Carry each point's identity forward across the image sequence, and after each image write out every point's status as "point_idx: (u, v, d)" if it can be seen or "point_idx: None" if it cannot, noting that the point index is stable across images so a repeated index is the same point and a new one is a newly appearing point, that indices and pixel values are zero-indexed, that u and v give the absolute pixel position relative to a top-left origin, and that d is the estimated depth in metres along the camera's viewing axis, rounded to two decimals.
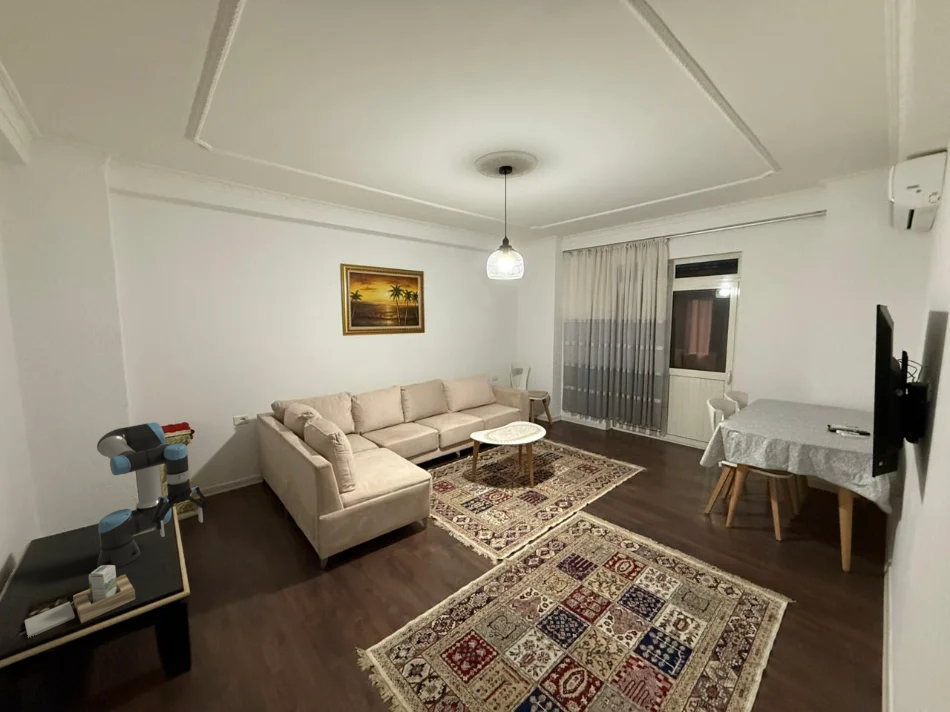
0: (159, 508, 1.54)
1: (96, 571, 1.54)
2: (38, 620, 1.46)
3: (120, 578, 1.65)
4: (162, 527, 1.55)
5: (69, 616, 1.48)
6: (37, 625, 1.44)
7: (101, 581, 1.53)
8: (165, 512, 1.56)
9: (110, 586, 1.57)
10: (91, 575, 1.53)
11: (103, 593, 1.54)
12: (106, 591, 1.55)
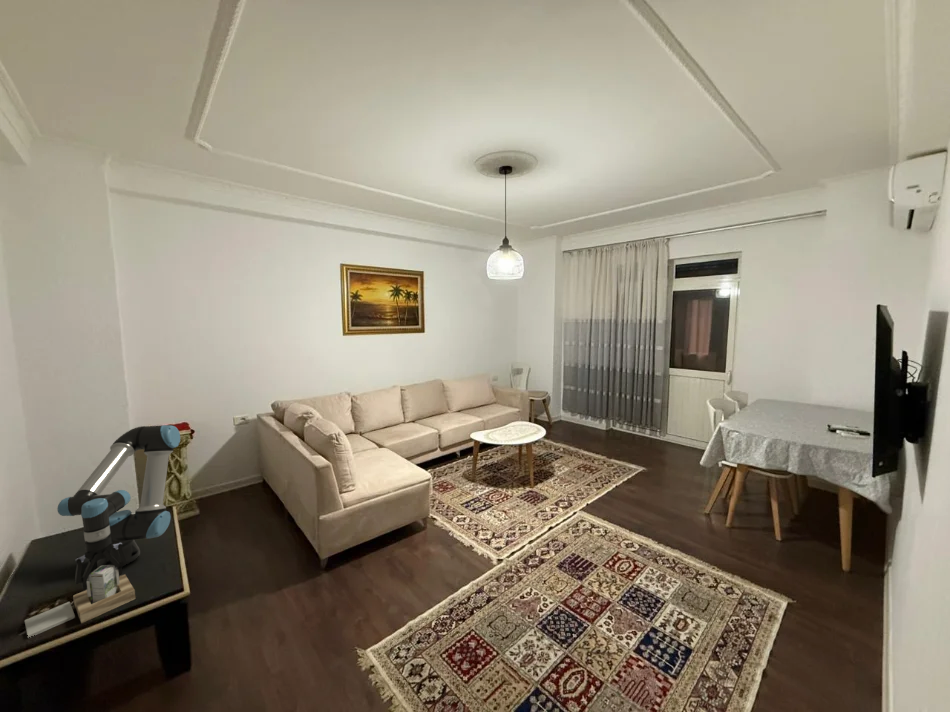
0: (79, 569, 1.49)
1: (96, 571, 1.54)
2: (38, 620, 1.46)
3: (120, 578, 1.65)
4: (88, 587, 1.52)
5: (69, 616, 1.48)
6: (37, 625, 1.44)
7: (100, 581, 1.53)
8: (88, 571, 1.52)
9: (110, 586, 1.57)
10: (91, 575, 1.53)
11: (103, 593, 1.54)
12: (106, 590, 1.55)
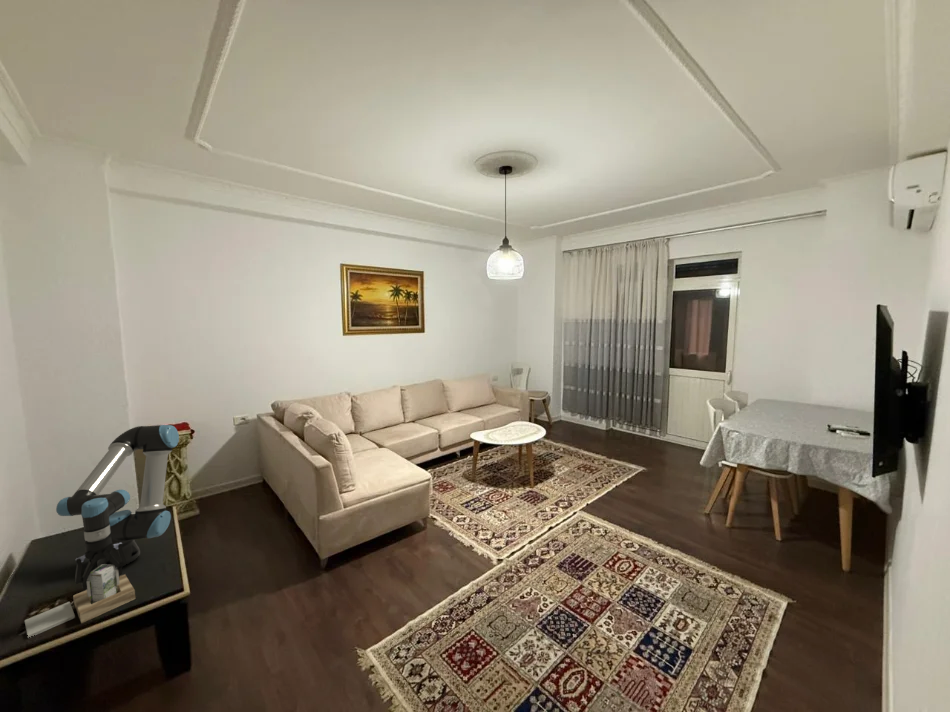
0: (79, 569, 1.49)
1: (95, 570, 1.54)
2: (38, 620, 1.46)
3: (120, 578, 1.65)
4: (88, 587, 1.51)
5: (69, 616, 1.48)
6: (37, 625, 1.44)
7: (99, 580, 1.52)
8: (88, 571, 1.51)
9: (109, 586, 1.56)
10: (90, 574, 1.52)
11: (101, 592, 1.53)
12: (104, 590, 1.54)
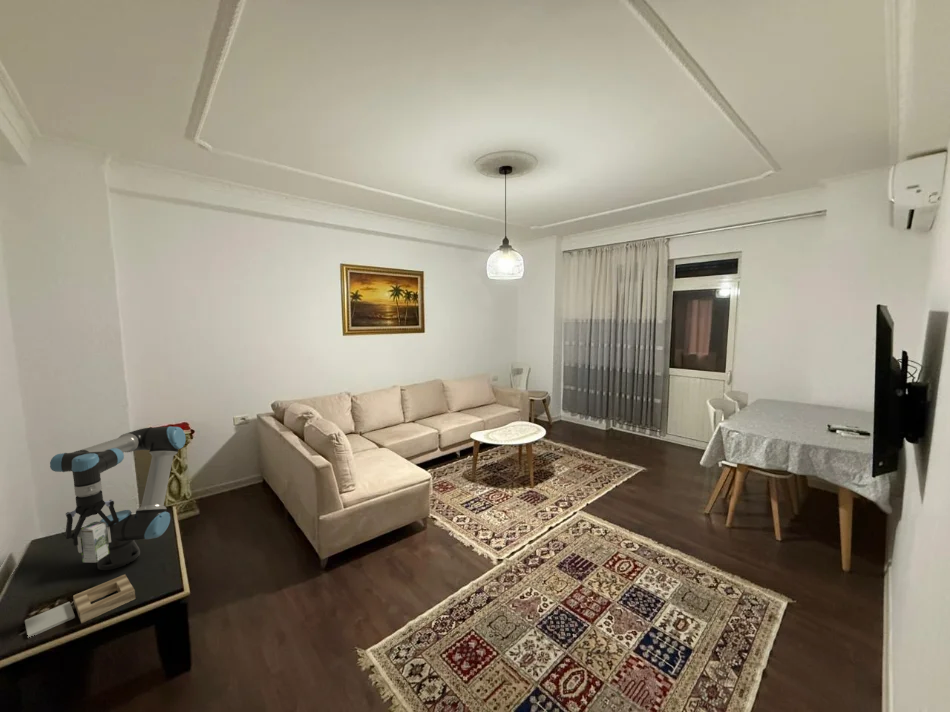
0: (70, 524, 1.47)
1: (87, 527, 1.52)
2: (38, 620, 1.46)
3: (120, 578, 1.65)
4: (79, 543, 1.49)
5: (69, 616, 1.48)
6: (37, 625, 1.44)
7: (90, 537, 1.50)
8: (79, 527, 1.49)
9: (101, 543, 1.54)
10: (81, 530, 1.50)
11: (93, 549, 1.51)
12: (96, 547, 1.52)
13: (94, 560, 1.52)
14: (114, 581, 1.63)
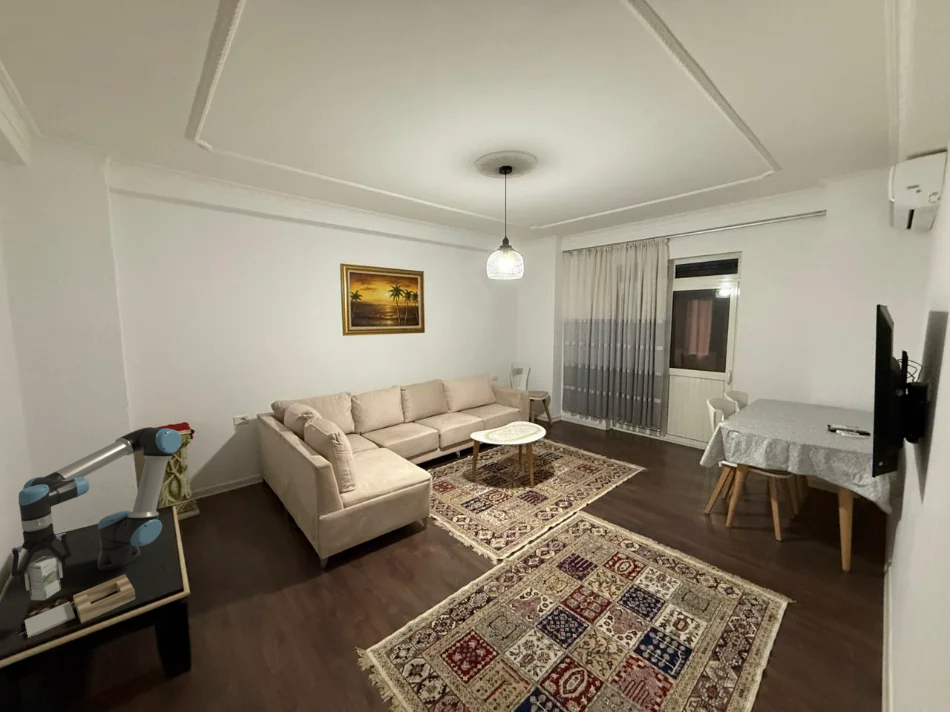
0: (15, 560, 1.39)
1: (35, 562, 1.44)
2: (38, 620, 1.46)
3: (120, 578, 1.65)
4: (26, 580, 1.41)
5: (69, 616, 1.48)
6: (37, 625, 1.44)
7: (39, 573, 1.42)
8: (26, 563, 1.41)
9: (51, 579, 1.46)
10: (29, 566, 1.42)
11: (41, 586, 1.43)
12: (45, 584, 1.44)
13: (43, 598, 1.44)
14: (114, 581, 1.63)
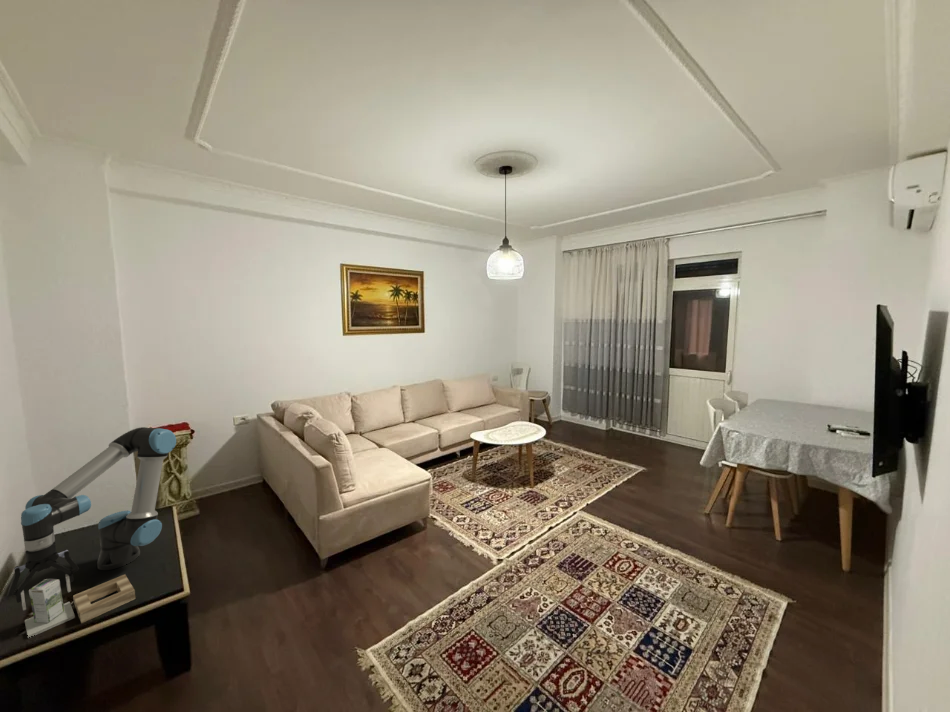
0: (15, 579, 1.39)
1: (37, 586, 1.44)
2: None
3: (120, 578, 1.65)
4: (23, 599, 1.41)
5: (69, 616, 1.48)
6: (37, 625, 1.44)
7: (41, 597, 1.43)
8: (25, 583, 1.41)
9: (54, 602, 1.47)
10: (31, 590, 1.43)
11: (44, 609, 1.44)
12: (48, 607, 1.45)
13: (46, 620, 1.45)
14: (114, 581, 1.63)
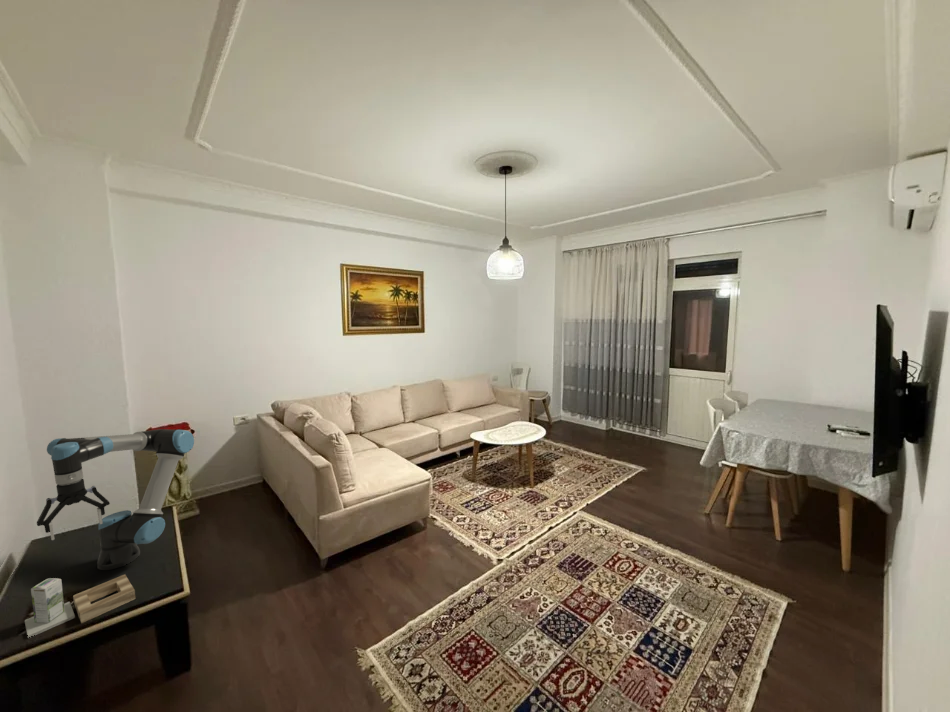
0: (46, 510, 1.45)
1: (39, 585, 1.45)
2: None
3: (120, 578, 1.65)
4: (51, 530, 1.47)
5: (69, 616, 1.48)
6: (37, 625, 1.44)
7: (43, 596, 1.44)
8: (54, 514, 1.47)
9: (55, 601, 1.47)
10: (33, 589, 1.44)
11: (45, 608, 1.44)
12: (49, 606, 1.45)
13: (46, 620, 1.45)
14: (114, 581, 1.63)
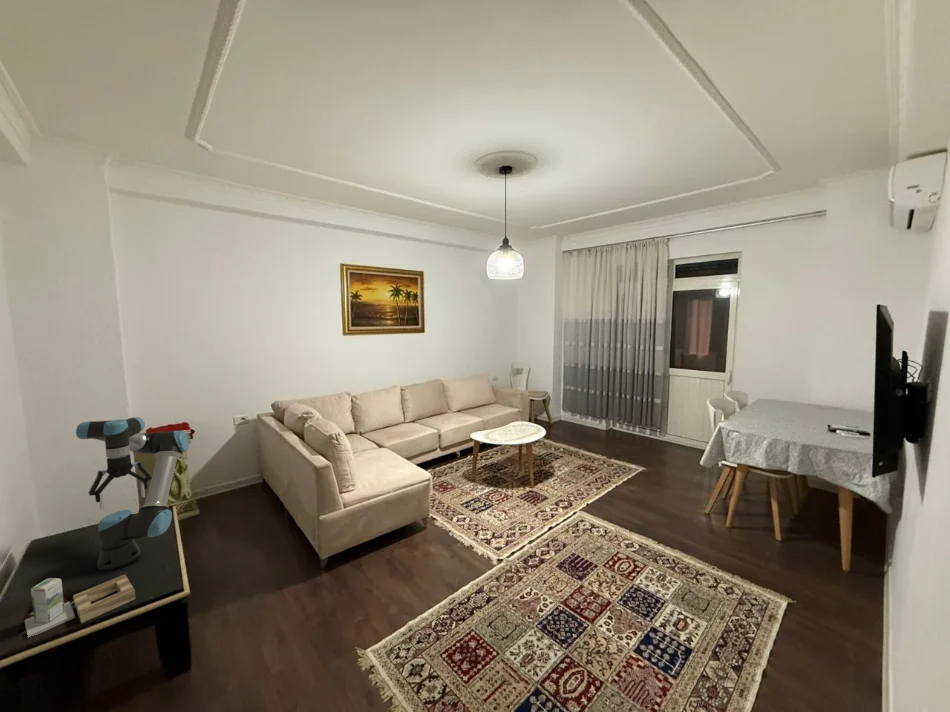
0: (98, 481, 1.59)
1: (39, 585, 1.45)
2: None
3: (120, 578, 1.65)
4: (101, 500, 1.60)
5: (69, 616, 1.48)
6: (37, 625, 1.44)
7: (43, 596, 1.44)
8: (104, 485, 1.60)
9: (55, 601, 1.47)
10: (33, 589, 1.44)
11: (45, 608, 1.44)
12: (49, 606, 1.45)
13: (46, 620, 1.45)
14: (114, 581, 1.63)
